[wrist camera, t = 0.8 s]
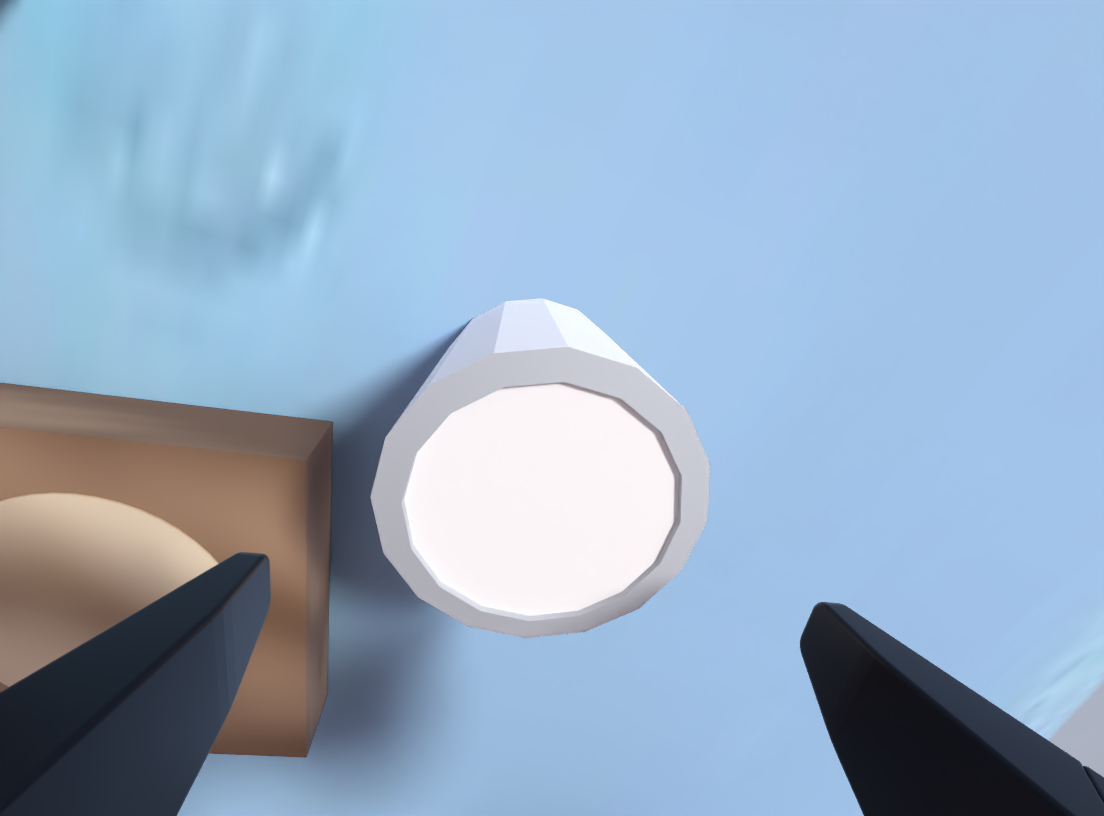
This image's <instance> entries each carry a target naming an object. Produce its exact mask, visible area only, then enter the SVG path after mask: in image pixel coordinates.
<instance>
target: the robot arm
mask: <svg viewBox="0 0 1104 816" xmlns="http://www.w3.org/2000/svg"><path fill="white" fill-rule="evenodd" d="M270 599H271V588H270V561H269V558H268V556H266V555H265V554H261V553H250V552H239V553H236V554H234V555H232V556H231V557H229V558H227V559H226V560H224V561H222V562H220V563H219V564H217V565H215V566H214V567H212V568H210V569H209V570H207V571H205V572H203V573H202V574H200V575H198V576H197V577H195V578H193V579H192V580H190V581H188V582H186V583H185V584H183V585H181V586H180V587H178V588H176V589H175V590H173V591H171V592H169V593H168V594H166V595H164V596H163V597H161V598H159V599H158V600H156V601H154V602H152V603H151V604H149V605H147V606H146V607H144V608H142V609H141V610H139V611H137V612H135V613H134V614H132V615H130V616H129V617H127V618H125V619H123V620H122V621H120V622H118V623H117V624H115V625H113V626H112V627H110V628H108V629H106V630H105V631H103V632H101V633H100V634H98V635H96V636H95V637H93V638H91V639H89V640H88V641H86V642H84V643H83V644H81V645H79V646H78V647H76V648H74V649H72V650H71V651H69V652H67V653H66V654H64V655H62V656H61V657H59V658H57V659H55V660H54V661H52V662H50V663H49V664H47V665H45V666H44V667H42V668H40V669H38V670H37V671H35V672H33V673H32V674H30V675H28V676H27V677H25V678H23V679H21V680H20V681H18V682H16V683H15V684H13V685H11V686H10V687H8V688H6V689H4V690H3V691H1V692H0V816H177V814H178V812H179V810H180V808H181V806H182V804H183V802H184V800H185V798H186V796H187V794H188V792H189V790H190V788H191V787H192V785H193V783H194V781H195V779H196V777H197V775H198V773H199V771H200V769H201V767H202V765H203V763H204V761H205V759H206V757H207V755H208V753H209V751H210V749H211V747H212V745H213V744H214V742H215V740H216V738H217V736H218V734H219V732H220V730H221V728H222V726H223V724H224V722H225V720H226V717H227V715H228V713H229V711H230V709H231V706H232V704H233V701H234V699H235V697H236V694H237V691H238V689H239V686H240V684H241V681H242V678H243V676H244V673H245V671H246V668H247V665H248V663H249V660H250V658H251V655H252V652H253V650H254V647H255V645H256V642H257V639H258V637H259V634H260V631H261V629H262V626H263V624H264V621H265V618H266V616H267V613H268V610H269V606H270ZM800 649H801V654H802V657H803V660H804V663H805V666H806V669H807V672H808V675H809V678H810V681H811V683H812V686H813V689H814V692H815V695H816V698H817V701H818V704H819V707H820V710H821V713H822V716H823V719H824V722H825V725H826V728H827V730H828V733H829V736H830V739H831V741H832V744H833V746H834V749H835V751H836V753H837V756H838V758H839V760H840V763H841V765H842V767H843V769H844V772H845V774H846V776H847V778H848V781H849V783H850V785H851V788H852V790H853V792H854V794H855V797H856V799H857V801H858V803H859V806H860V808H861V810H862V812H863V815H864V816H1104V777H1102V776H1101V775H1099V774H1098V773H1096V772H1095V771H1093V770H1092V769H1090V768H1089V767H1087V766H1082V764H1081V763H1080V762H1079V761H1078V760H1077V759H1075V758H1074V757H1072V756H1071V755H1069V754H1068V753H1066V752H1065V751H1063V750H1062V749H1060V748H1058V747H1057V746H1055V745H1054V744H1053V743H1051V742H1050V741H1048V740H1047V739H1045V738H1044V737H1042V736H1041V735H1039V734H1038V733H1036V732H1035V731H1033V730H1032V729H1030V728H1029V727H1027V726H1026V725H1024V724H1023V723H1021V722H1020V721H1018V720H1017V719H1015V718H1014V717H1012V716H1011V715H1009V714H1008V713H1006V712H1005V711H1003V710H1002V709H1000V708H999V707H997V706H995V705H994V704H992V703H991V702H989V701H988V700H986V699H985V698H983V697H982V696H980V695H979V694H977V693H976V692H974V691H973V690H971V689H970V688H968V687H967V686H965V685H964V684H962V683H961V682H959V681H958V680H956V679H955V678H953V677H952V676H950V675H949V674H947V673H946V672H944V671H943V670H941V669H940V668H938V667H937V666H935V665H934V664H932V663H931V662H929V661H928V660H926V659H925V658H923V657H922V656H920V655H919V654H917V653H916V652H914V651H913V650H911V649H910V648H908V647H907V646H905V645H904V644H902V643H901V642H899V641H898V640H896V639H895V638H893V637H892V636H890V635H889V634H887V633H886V632H884V631H883V630H881V629H880V628H878V627H877V626H875V625H874V624H872V623H871V622H869V621H868V620H866V619H865V618H863V617H862V616H860V615H859V614H857V613H856V612H854V611H853V610H851V609H850V608H848V607H847V606H845V605H843V604H839V603H829V602H820V603H818V604H817V605H815V606H814V608H813V610H812V613H811V615H810V617H809V619H808V622H807V624H806V626H805V629H804V631H803V633H802V636H801V639H800Z"/></svg>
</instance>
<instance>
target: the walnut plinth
mask: <svg viewBox="0 0 1104 816" xmlns="http://www.w3.org/2000/svg"><path fill="white" fill-rule="evenodd" d="M332 431H333V422H330V421H322V420H313V419H305V418H296V417H288V416H279V415H271V414H262V413H254V412H245V411H236V410H228V409H219V408H211V407H202V406H194V405H185V404H177V403H168V402H160V401H151V400H143V399H134V398H126V397H117V396H109V395H100V394H92V393H83V392H75V391H66V390H57V389H49V388H40V387H32V386H23V385H15V384H6V383H0V692H1V691H3V690H4V689H6V688H8V687H10V686H11V685H13V684H15V683H16V682H18V681H20V680H21V679H23V678H25V677H27V676H28V675H30V674H32V673H33V672H35V671H37V670H38V669H40V668H42V667H44V666H45V665H47V664H49V663H50V662H52V661H54V660H55V659H57V658H59V657H61V656H62V655H64V654H66V653H67V652H69V651H71V650H72V649H74V648H76V647H78V646H79V645H81V644H83V643H84V642H86V641H88V640H89V639H91V638H93V637H95V636H96V635H98V634H100V633H101V632H103V631H105V630H106V629H108V628H110V627H112V626H113V625H115V624H117V623H118V622H120V621H122V620H123V619H125V618H127V617H129V616H130V615H132V614H134V613H135V612H137V611H139V610H141V609H142V608H144V607H146V606H147V605H149V604H151V603H152V602H154V601H156V600H158V599H159V598H161V597H163V596H164V595H166V594H168V593H169V592H171V591H173V590H175V589H176V588H178V587H180V586H181V585H183V584H185V583H186V582H188V581H190V580H192V579H193V578H195V577H197V576H198V575H200V574H202V573H203V572H205V571H207V570H209V569H210V568H212V567H214V566H215V565H217V564H219V563H220V562H222V561H224V560H226V559H227V558H229V557H231V556H232V555H234V554H236V553H239V552H250V553H261V554H265V555H266V556H268V558H269V561H270V588H271V599H270V606H269V610H268V613H267V616H266V618H265V621H264V624H263V626H262V629H261V631H260V634H259V637H258V639H257V642H256V645H255V647H254V650H253V652H252V655H251V658H250V660H249V663H248V665H247V668H246V671H245V673H244V676H243V678H242V681H241V684H240V686H239V689H238V691H237V694H236V697H235V699H234V701H233V704H232V706H231V709H230V711H229V713H228V715H227V717H226V720H225V722H224V724H223V726H222V728H221V730H220V732H219V734H218V736H217V738H216V740H215V742H214V744H213V745H212V747H211V749H210V751H209V753H212V754H236V755H260V756H285V757H307V754H308V751H309V748H310V745H311V742H312V739H313V736H314V733H315V731H316V728H317V725H318V722H319V719H320V716H321V713H322V710H323V707H324V704H325V701H326V698H327V681H328V631H329V581H330V531H331V481H332Z"/></svg>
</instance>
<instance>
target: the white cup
mask: <svg viewBox="0 0 1104 816" xmlns="http://www.w3.org/2000/svg"><path fill="white" fill-rule="evenodd" d="M709 480H710V463H709V461H708V458H707V456H706V454H705V451H704V449H703V447H702V444H701V442H700V440H699V437H698V435H697V433H696V431H695V428H694V426H693V424H692V421H691V419H690V417H689V414H688V412H687V410H686V409H685V408H684V407H683V406H682V405H681V404H679V403H678V402H677V401H676V400H675V399H674V398H673V397H672V396H671V395H670V394H669V393H668V392H667V391H666V390H665V389H663V388H662V387H661V386H660V385H659V384H658V383H657V382H656V381H655V380H654V379H653V378H652V377H651V376H650V375H649V374H648V373H646V372H645V371H644V370H643V369H642V368H641V367H640V366H639V365H638V364H637V363H636V362H635V361H634V360H633V359H632V358H631V357H629V356H628V355H627V354H626V353H625V352H624V351H623V350H622V349H621V348H620V347H619V346H618V345H617V344H616V343H615V342H613V341H612V340H611V339H610V338H609V337H608V336H607V335H606V334H605V333H604V332H603V331H602V330H600V329H599V328H598V327H597V326H596V325H595V324H594V323H592V322H591V321H590V320H589V319H588V318H587V317H585V316H584V315H583V314H582V313H581V312H580V311H578V310H577V309H574V308H571V307H568V306H565V305H561V304H558V303H555V302H552V301H549V300H546V299H543V298H542V299H530V300H518V301H506V302H504V303H502V304H500V305H498V306H496V307H494V308H492V309H490V310H488V311H486V312H484V313H482V314H480V315H478V316H476V317H474V318H473V319H472V320H471V321H470V322H469V324H468V325H467V326H466V327H465V328H464V330H463V331H462V332H461V333H460V334H459V336H458V337H457V338H456V339H455V340H454V342H453V343H452V344H451V345H450V347H449V348H448V349H447V351H446V352H445V354H444V355H443V357H442V358H441V359H440V361H439V362H438V364H437V365H436V366H435V368H434V369H433V371H432V372H431V374H430V375H429V376H428V378H427V379H426V381H425V382H424V384H423V385H422V386H421V388H420V389H419V391H418V392H417V393H416V395H415V396H414V398H413V399H412V401H411V402H410V403H409V405H408V406H407V408H406V409H405V410H404V412H403V413H402V415H401V416H400V418H399V419H398V420H397V422H396V423H395V425H394V426H393V428H392V429H391V430H390V432H389V433H388V435H387V436H386V437H385V440H384V444H383V448H382V453H381V457H380V461H379V465H378V469H377V473H376V477H375V481H374V485H373V489H372V493H371V502H372V506H373V510H374V515H375V519H376V524H377V528H378V532H379V537H380V541H381V545H382V550H383V553H384V554H385V556H386V557H387V558H388V560H389V561H390V562H391V563H392V565H393V566H394V567H395V568H396V570H397V571H398V572H399V574H400V575H401V576H402V577H403V579H404V580H405V581H406V583H407V584H408V585H409V586H410V588H411V589H412V590H413V591H414V593H415V594H416V595H417V597H418V598H420V599H422V600H423V601H425V602H427V603H429V604H430V605H432V606H434V607H435V608H437V609H439V610H441V611H442V612H444V613H446V614H448V615H449V616H451V617H453V618H454V619H456V620H458V621H460V622H461V623H463V624H465V625H467V626H468V627H473V628H478V629H483V630H488V631H493V632H498V633H503V634H509V635H514V636H519V637H524V638H530V637H540V636H549V635H559V634H568V633H577V632H585V631H588V630H590V629H592V628H595V627H597V626H599V625H602V624H604V623H606V622H609V621H611V620H613V619H616V618H618V617H620V616H623V615H625V614H627V613H630V612H632V611H634V610H637V609H639V608H640V607H641V606H642V605H643V604H645V603H646V602H647V601H648V600H649V599H650V598H651V597H652V596H654V595H655V594H656V593H657V592H658V591H659V590H660V589H661V588H663V587H664V586H665V585H666V584H667V583H668V582H669V581H670V580H672V579H673V578H674V577H675V576H676V575H677V574H678V573H679V572H680V571H682V569H683V567H684V565H685V563H686V561H687V559H688V557H689V555H690V553H691V551H692V549H693V548H694V546H695V544H696V542H697V540H698V538H699V536H700V534H701V532H702V530H703V528H704V526H705V524H706V522H707V518H708V499H709Z"/></svg>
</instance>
